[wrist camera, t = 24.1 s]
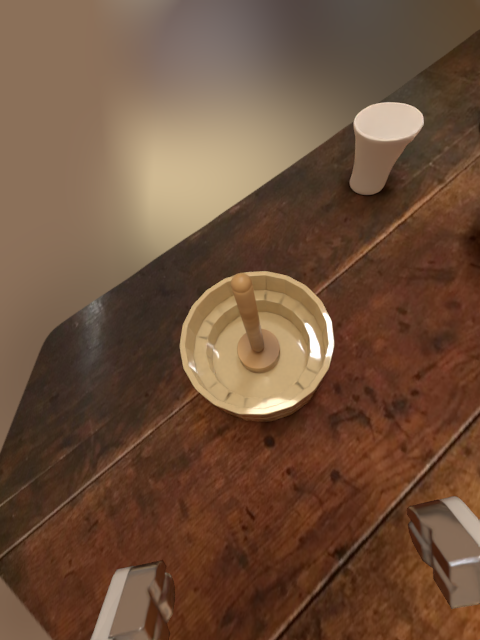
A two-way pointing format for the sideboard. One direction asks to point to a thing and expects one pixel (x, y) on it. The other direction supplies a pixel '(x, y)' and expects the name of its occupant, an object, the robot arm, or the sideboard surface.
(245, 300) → the wooden dowel stand
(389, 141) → the cup
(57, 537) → the sideboard surface
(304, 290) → the mixing bowl
